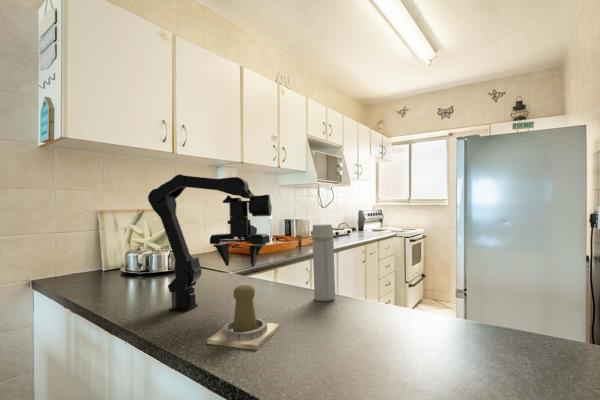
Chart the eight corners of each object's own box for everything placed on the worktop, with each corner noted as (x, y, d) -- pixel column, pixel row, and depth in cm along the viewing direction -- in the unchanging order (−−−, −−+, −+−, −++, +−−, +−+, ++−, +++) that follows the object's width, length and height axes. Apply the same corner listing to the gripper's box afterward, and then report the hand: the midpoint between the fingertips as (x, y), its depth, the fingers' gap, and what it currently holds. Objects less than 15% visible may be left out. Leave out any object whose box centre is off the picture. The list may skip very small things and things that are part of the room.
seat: (206, 343, 72) (206, 332, 72) (235, 323, 85) (235, 314, 85) (257, 350, 68) (256, 338, 68) (280, 327, 80) (279, 318, 80)
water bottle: (310, 297, 107) (308, 224, 108) (332, 295, 109) (329, 223, 110) (318, 305, 98) (316, 226, 99) (342, 302, 100) (339, 224, 101)
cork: (243, 338, 72) (242, 290, 73) (227, 332, 76) (226, 286, 76) (262, 329, 77) (261, 285, 77) (246, 324, 81) (245, 282, 81)
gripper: (275, 215, 104) (277, 262, 103) (227, 216, 110) (228, 261, 109) (261, 216, 93) (262, 269, 93) (208, 218, 99) (209, 267, 99)
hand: (240, 266), depth 99 cm, fingers open, 9 cm apart
